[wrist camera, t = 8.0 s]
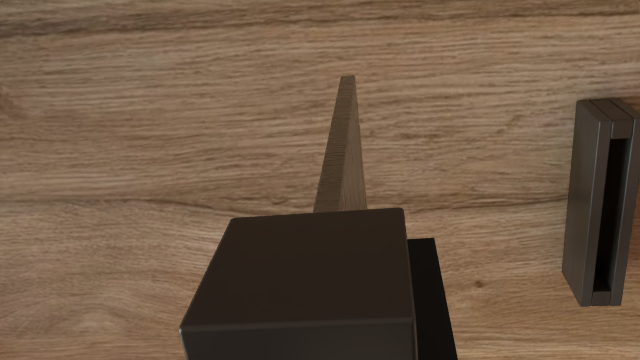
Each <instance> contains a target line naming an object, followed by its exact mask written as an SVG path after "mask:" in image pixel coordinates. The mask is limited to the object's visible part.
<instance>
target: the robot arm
mask: <svg viewBox="0 0 640 360" xmlns="http://www.w3.org/2000/svg"><path fill="white" fill-rule="evenodd" d="M407 244H408V253H409V262H410V271H411V280H412V289H413V299H414V308H415V317H416V331H417V349H418V360H458V358H457V353H456V348H455V343H454V338H453V332H452V327H451V322H450V317H449V312H448V307H447V302H446V297H445V291H444V286H443V281H442V276H441V271H440V266H439V261H438V256H437V250H436V245H435V240H434V238H422V239H407Z"/></svg>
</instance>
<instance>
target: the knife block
mask: <svg viewBox="0 0 640 360" xmlns="http://www.w3.org/2000/svg"><path fill="white" fill-rule="evenodd" d="M639 175H640V113H639V112H638V111H636V110H635V109H634V108H632V107H631V106H630V105H628V104H627V103H625V102H624V101H623V100H621V99H620V98H612V99H600V100H589V101H588V100H583V101H577V104H576V115H575V127H574V138H573V150H572V161H571V173H570V184H569V195H568V207H567V218H566V230H565V241H564V253H563V264H562V273H563V275H564V277H565V279H566V281H567V283H568V285H569V286H570V288H571V290H572V292H573V294H574V296H575V298H576V300H577V302H578V303H579V305H580V307H587V306H609V305H610V306H621V301H622V294H623V287H624V280H625V273H626V266H627V259H628V252H629V245H630V238H631V231H632V224H633V217H634V210H635V203H636V196H637V189H638V182H639Z"/></svg>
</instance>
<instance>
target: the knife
mask: <svg viewBox="0 0 640 360" xmlns="http://www.w3.org/2000/svg"><path fill="white" fill-rule="evenodd" d="M179 334H180V337H181V341H182V345H183V348H184V352H185V356H186V359H187V360H418V349H417V331H416V317H415V308H414V299H413V289H412V280H411V271H410V262H409V253H408V244H407V235H406V225H405V216H404V210H403V209H402V208H384V209H368V210H367V202H366V191H365V180H364V169H363V158H362V147H361V136H360V125H359V114H358V103H357V92H356V81H355V76H354V75H351V76H342V77H341V79H340V83H339V88H338V93H337V98H336V103H335V108H334V112H333V117H332V122H331V127H330V132H329V137H328V141H327V146H326V151H325V156H324V161H323V165H322V170H321V175H320V180H319V185H318V190H317V194H316V199H315V204H314V209H313V213H304V214H289V215H273V216H257V217H241V218H233V219H231V220H230V222H229V224H228V226H227V228H226V231H225V233H224V235H223V237H222V239H221V241H220V243H219V245H218V247H217V249H216V251H215V254H214V256H213V258H212V260H211V262H210V264H209V266H208V268H207V270H206V272H205V274H204V276H203V279H202V281H201V283H200V285H199V287H198V289H197V291H196V293H195V295H194V297H193V299H192V301H191V304H190V306H189V308H188V310H187V312H186V314H185V316H184V318H183V320H182V322H181V324H180V326H179Z"/></svg>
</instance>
